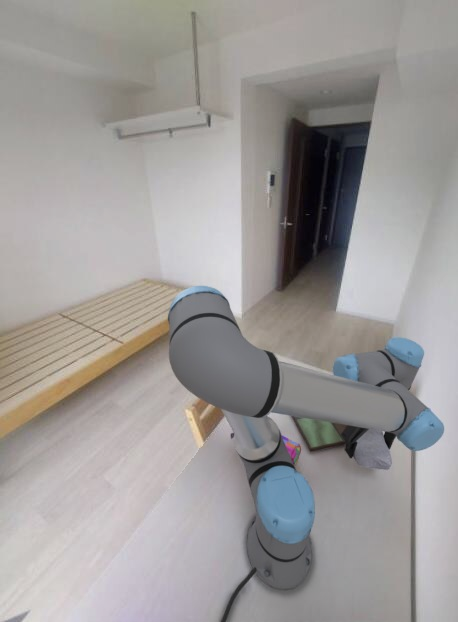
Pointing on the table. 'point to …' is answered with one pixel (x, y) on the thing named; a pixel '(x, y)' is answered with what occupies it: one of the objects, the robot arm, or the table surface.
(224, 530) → the table surface
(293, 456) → the pencil case
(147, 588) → the table surface
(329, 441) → the board
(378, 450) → the stone block
